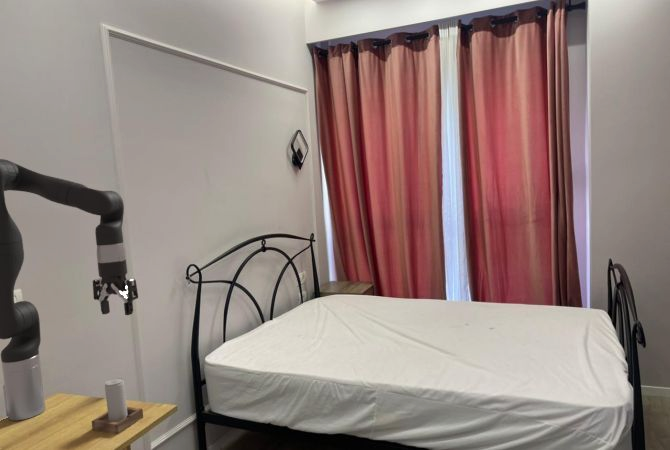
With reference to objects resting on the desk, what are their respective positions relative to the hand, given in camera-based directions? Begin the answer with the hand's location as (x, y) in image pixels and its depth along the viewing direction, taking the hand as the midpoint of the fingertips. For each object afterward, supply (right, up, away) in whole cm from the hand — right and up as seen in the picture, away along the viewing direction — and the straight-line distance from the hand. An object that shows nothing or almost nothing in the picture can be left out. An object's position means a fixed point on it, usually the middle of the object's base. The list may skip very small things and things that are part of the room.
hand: (117, 314), depth 136 cm
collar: (+4, -29, -8) cm, 30 cm away
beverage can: (+4, -29, -8) cm, 30 cm away
